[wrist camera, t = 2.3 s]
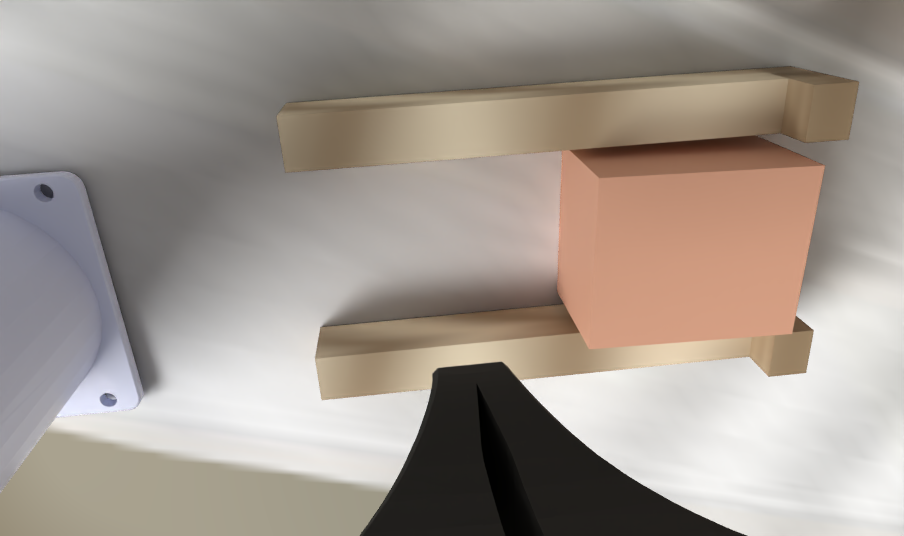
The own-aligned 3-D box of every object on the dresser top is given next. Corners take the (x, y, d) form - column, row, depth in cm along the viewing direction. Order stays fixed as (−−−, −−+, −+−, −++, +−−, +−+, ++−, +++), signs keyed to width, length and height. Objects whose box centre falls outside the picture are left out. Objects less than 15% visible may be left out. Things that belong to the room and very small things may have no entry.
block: (555, 289, 23) (589, 349, 19) (561, 142, 21) (599, 178, 17) (727, 277, 23) (792, 333, 20) (748, 132, 21) (825, 165, 18)
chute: (326, 366, 23) (318, 423, 20) (286, 102, 19) (269, 125, 16) (753, 323, 24) (805, 372, 21) (790, 66, 20) (859, 81, 17)
